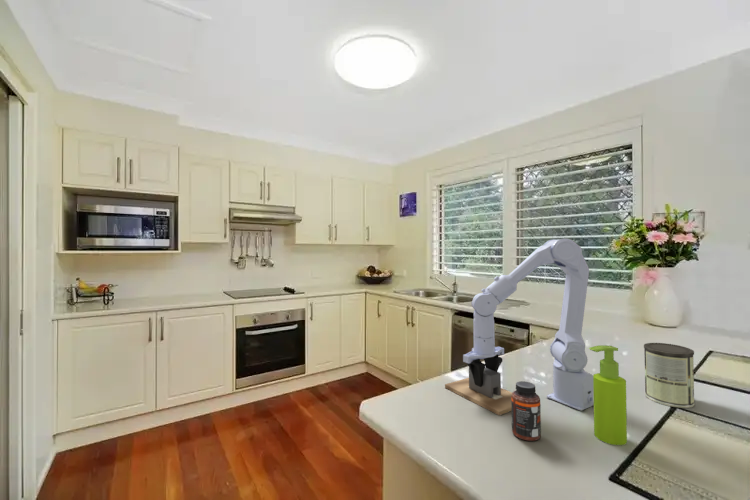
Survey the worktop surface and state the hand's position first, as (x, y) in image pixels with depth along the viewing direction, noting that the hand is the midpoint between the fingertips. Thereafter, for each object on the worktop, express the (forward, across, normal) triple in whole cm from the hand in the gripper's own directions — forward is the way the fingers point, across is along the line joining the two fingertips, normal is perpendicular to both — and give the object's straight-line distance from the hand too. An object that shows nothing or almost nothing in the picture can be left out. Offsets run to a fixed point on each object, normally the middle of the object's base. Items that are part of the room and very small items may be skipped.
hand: (484, 383), depth 96 cm
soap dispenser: (+3, -6, +29) cm, 30 cm away
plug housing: (+2, 0, 0) cm, 2 cm away
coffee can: (+3, -40, +28) cm, 49 cm away
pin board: (+3, 0, 0) cm, 3 cm away
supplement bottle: (+3, +8, +19) cm, 21 cm away
